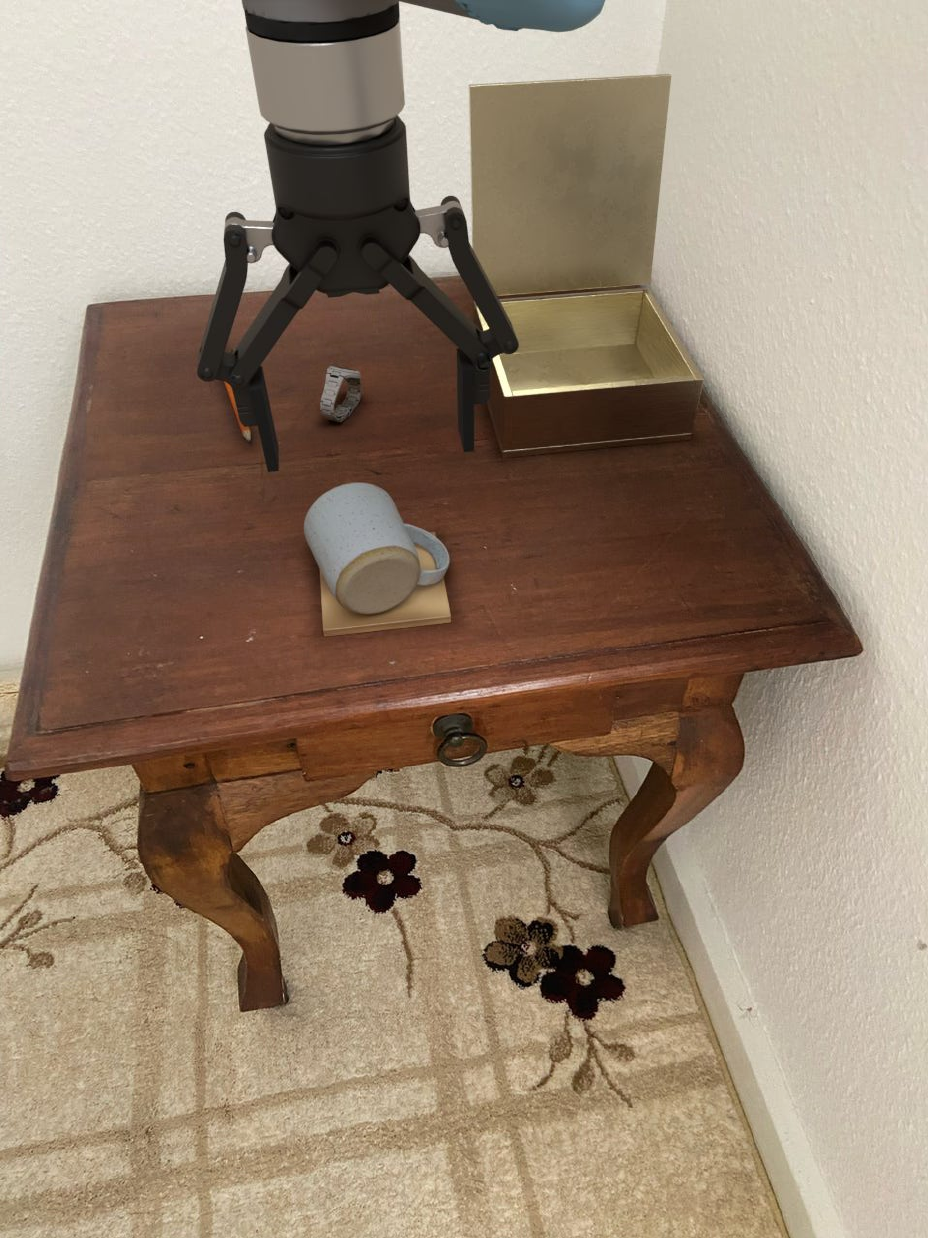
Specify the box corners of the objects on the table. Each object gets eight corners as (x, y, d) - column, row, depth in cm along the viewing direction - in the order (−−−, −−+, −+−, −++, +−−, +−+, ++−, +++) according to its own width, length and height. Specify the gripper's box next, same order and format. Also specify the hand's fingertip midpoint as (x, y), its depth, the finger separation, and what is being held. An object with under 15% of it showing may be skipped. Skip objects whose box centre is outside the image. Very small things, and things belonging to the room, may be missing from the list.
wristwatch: (370, 400, 90) (366, 356, 86) (343, 433, 86) (337, 389, 82) (340, 393, 90) (335, 349, 87) (311, 425, 87) (304, 381, 83)
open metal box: (690, 440, 85) (704, 378, 80) (502, 458, 83) (504, 396, 78) (639, 345, 96) (648, 287, 91) (473, 359, 95) (473, 300, 90)
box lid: (671, 74, 79) (653, 68, 83) (469, 85, 78) (461, 78, 82) (650, 284, 91) (636, 269, 95) (474, 297, 89) (467, 282, 93)
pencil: (221, 350, 96) (219, 343, 96) (256, 446, 84) (254, 439, 84) (213, 352, 96) (211, 345, 95) (247, 448, 84) (245, 441, 84)
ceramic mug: (340, 633, 67) (330, 560, 61) (308, 565, 72) (296, 492, 66) (466, 594, 70) (467, 521, 64) (427, 531, 75) (425, 459, 69)
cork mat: (451, 622, 69) (451, 616, 68) (324, 637, 68) (322, 630, 67) (435, 538, 75) (435, 531, 75) (319, 550, 74) (318, 543, 74)
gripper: (551, 81, 49) (533, 403, 65) (99, 109, 47) (194, 436, 63) (582, 127, 44) (555, 464, 60) (78, 161, 42) (187, 502, 58)
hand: (370, 450), depth 61 cm, fingers open, 13 cm apart
